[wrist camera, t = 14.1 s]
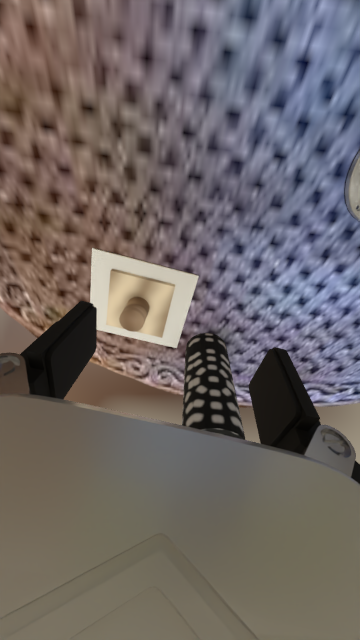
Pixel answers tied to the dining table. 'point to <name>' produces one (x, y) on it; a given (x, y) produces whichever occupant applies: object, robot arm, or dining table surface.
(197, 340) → the spotted tube
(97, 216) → the dining table surface
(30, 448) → the robot arm
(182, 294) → the white flat block
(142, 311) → the wooden lid
